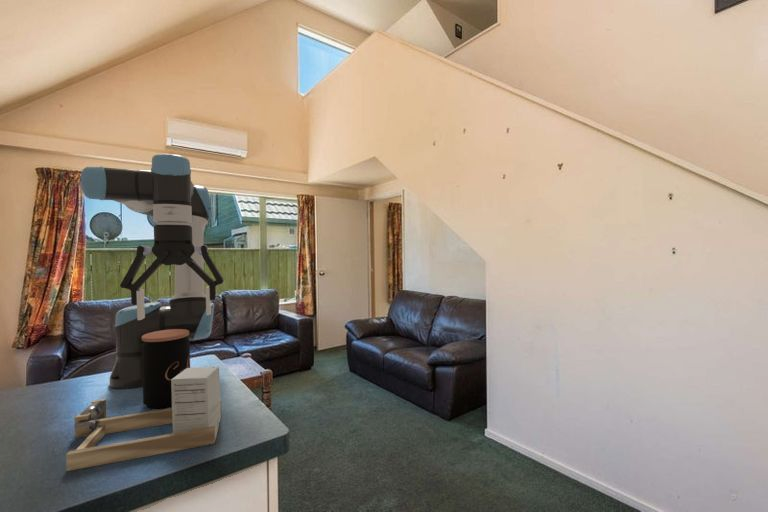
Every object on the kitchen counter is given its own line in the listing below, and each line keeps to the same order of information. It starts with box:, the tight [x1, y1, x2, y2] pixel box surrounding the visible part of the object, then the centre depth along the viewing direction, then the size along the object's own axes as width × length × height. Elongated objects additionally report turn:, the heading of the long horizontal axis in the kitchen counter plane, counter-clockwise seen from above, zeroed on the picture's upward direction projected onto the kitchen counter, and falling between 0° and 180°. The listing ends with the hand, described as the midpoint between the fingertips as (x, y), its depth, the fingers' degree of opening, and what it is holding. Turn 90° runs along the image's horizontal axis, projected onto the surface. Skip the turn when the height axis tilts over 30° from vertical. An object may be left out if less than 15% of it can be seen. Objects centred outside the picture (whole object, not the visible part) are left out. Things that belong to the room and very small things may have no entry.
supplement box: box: [171, 366, 222, 433], centre depth 76 cm, size 7×7×13 cm
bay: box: [65, 400, 223, 472], centre depth 73 cm, size 14×24×3 cm, turn 110°
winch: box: [73, 398, 108, 439], centre depth 77 cm, size 12×5×5 cm, turn 20°
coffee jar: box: [142, 329, 191, 410], centre depth 91 cm, size 11×11×18 cm
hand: (176, 316), depth 80 cm, fingers open, 13 cm apart
